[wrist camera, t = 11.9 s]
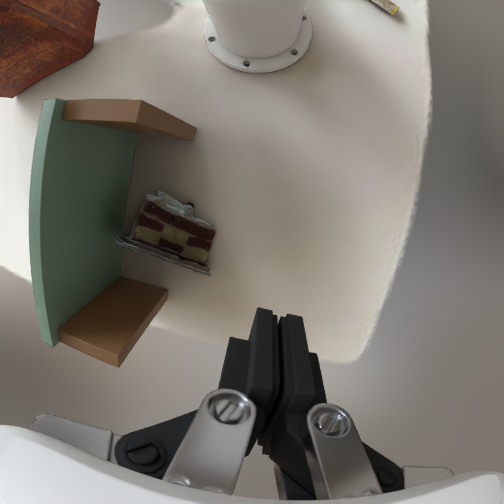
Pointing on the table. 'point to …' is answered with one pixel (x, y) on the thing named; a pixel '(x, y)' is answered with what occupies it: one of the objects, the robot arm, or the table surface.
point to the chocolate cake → (170, 233)
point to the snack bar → (387, 5)
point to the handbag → (42, 39)
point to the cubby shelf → (90, 223)
